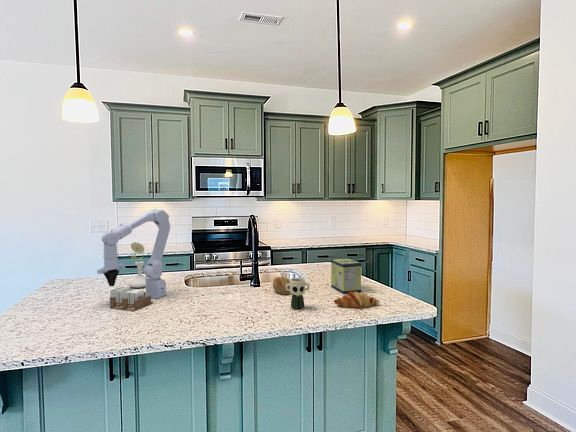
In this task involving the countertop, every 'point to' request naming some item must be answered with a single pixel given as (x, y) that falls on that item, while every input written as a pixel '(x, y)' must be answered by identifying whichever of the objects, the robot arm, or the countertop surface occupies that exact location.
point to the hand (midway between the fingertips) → (111, 285)
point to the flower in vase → (138, 267)
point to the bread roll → (281, 285)
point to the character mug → (297, 291)
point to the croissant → (356, 300)
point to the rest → (137, 304)
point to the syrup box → (127, 294)
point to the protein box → (345, 275)
